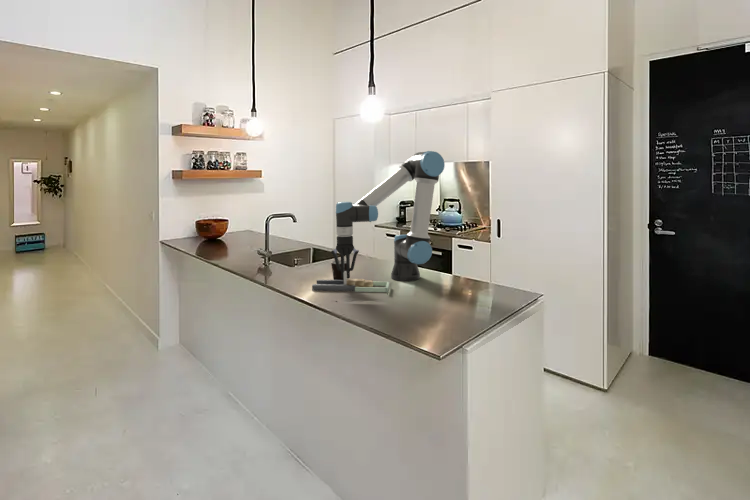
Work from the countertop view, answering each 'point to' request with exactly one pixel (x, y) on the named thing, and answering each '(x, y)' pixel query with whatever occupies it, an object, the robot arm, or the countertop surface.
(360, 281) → the tan wooden block
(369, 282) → the beige cubic piece
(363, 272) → the countertop surface
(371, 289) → the tray
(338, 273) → the coffee mug
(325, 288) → the slot channel
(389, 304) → the countertop surface
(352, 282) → the tan cubic piece
